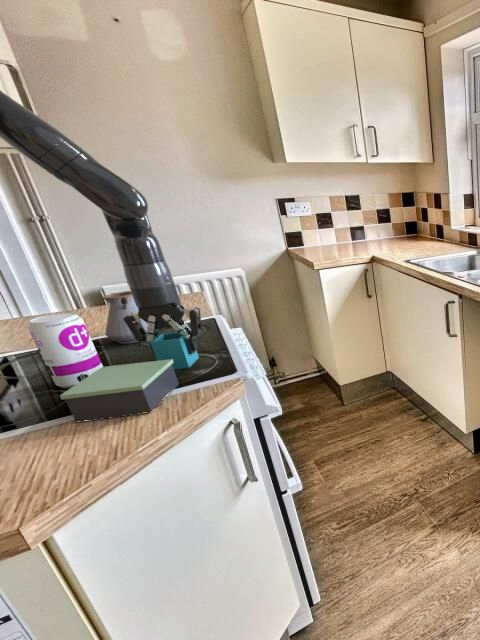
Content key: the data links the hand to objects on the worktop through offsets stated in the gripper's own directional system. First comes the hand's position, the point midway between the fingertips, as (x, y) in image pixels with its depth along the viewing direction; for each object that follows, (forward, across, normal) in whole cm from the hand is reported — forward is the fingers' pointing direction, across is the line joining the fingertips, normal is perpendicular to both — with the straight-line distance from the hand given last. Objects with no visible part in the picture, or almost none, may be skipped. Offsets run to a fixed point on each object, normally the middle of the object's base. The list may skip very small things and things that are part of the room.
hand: (176, 354), depth 97 cm
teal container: (+2, 0, 0) cm, 2 cm away
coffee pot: (+4, +20, -24) cm, 32 cm away
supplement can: (+4, +20, -1) cm, 21 cm away
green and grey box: (+4, +4, +14) cm, 15 cm away
